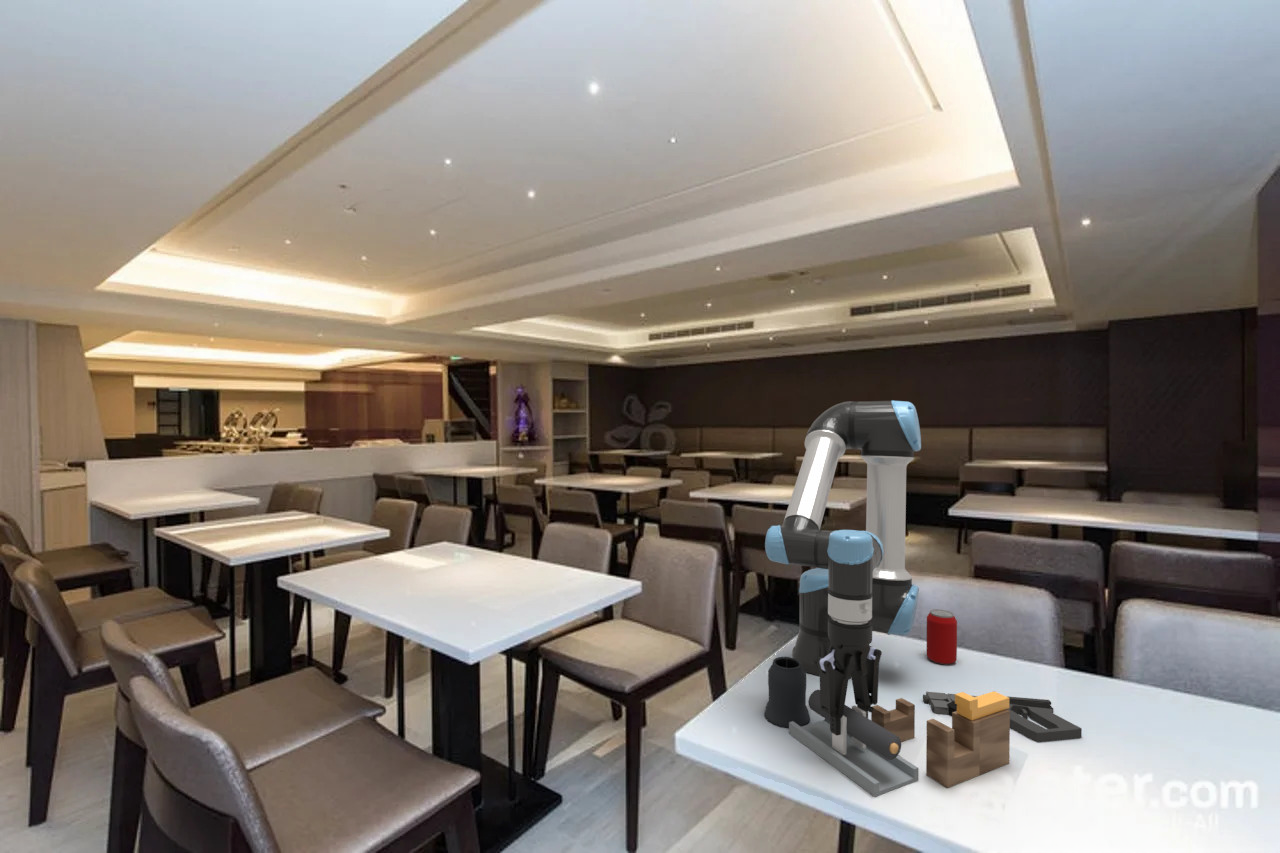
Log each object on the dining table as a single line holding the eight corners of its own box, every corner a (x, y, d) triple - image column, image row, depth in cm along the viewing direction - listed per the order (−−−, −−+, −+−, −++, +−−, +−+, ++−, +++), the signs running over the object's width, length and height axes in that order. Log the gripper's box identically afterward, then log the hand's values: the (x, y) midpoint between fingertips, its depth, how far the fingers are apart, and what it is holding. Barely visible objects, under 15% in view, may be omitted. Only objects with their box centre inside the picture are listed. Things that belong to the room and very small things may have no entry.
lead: (806, 711, 113) (806, 690, 113) (822, 707, 115) (822, 686, 115) (886, 764, 96) (886, 739, 96) (903, 758, 98) (903, 734, 98)
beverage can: (946, 654, 151) (946, 607, 151) (962, 665, 144) (963, 616, 144) (921, 655, 150) (921, 608, 150) (936, 666, 144) (936, 617, 143)
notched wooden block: (926, 774, 100) (926, 720, 100) (987, 751, 107) (987, 701, 107) (947, 788, 97) (947, 732, 97) (1009, 763, 104) (1009, 710, 103)
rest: (871, 739, 111) (871, 706, 111) (901, 730, 115) (901, 697, 115) (883, 747, 109) (884, 713, 108) (914, 737, 112) (914, 704, 112)
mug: (811, 731, 114) (812, 673, 114) (763, 726, 116) (764, 669, 116) (807, 702, 126) (808, 649, 126) (764, 697, 128) (764, 646, 128)
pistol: (1091, 738, 108) (1053, 699, 123) (940, 723, 114) (920, 687, 128) (1091, 750, 108) (1052, 710, 123) (940, 734, 114) (920, 698, 128)
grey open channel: (788, 733, 114) (788, 722, 114) (828, 721, 118) (828, 711, 118) (874, 796, 95) (874, 783, 95) (918, 780, 99) (918, 767, 99)
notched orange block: (954, 713, 102) (954, 694, 102) (993, 701, 107) (994, 682, 107) (969, 721, 100) (970, 701, 100) (1009, 707, 104) (1009, 688, 104)
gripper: (828, 632, 99) (827, 770, 99) (901, 617, 106) (900, 747, 106) (798, 618, 106) (797, 748, 106) (868, 605, 113) (867, 727, 113)
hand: (849, 747), depth 106 cm, fingers closed on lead, 4 cm apart
